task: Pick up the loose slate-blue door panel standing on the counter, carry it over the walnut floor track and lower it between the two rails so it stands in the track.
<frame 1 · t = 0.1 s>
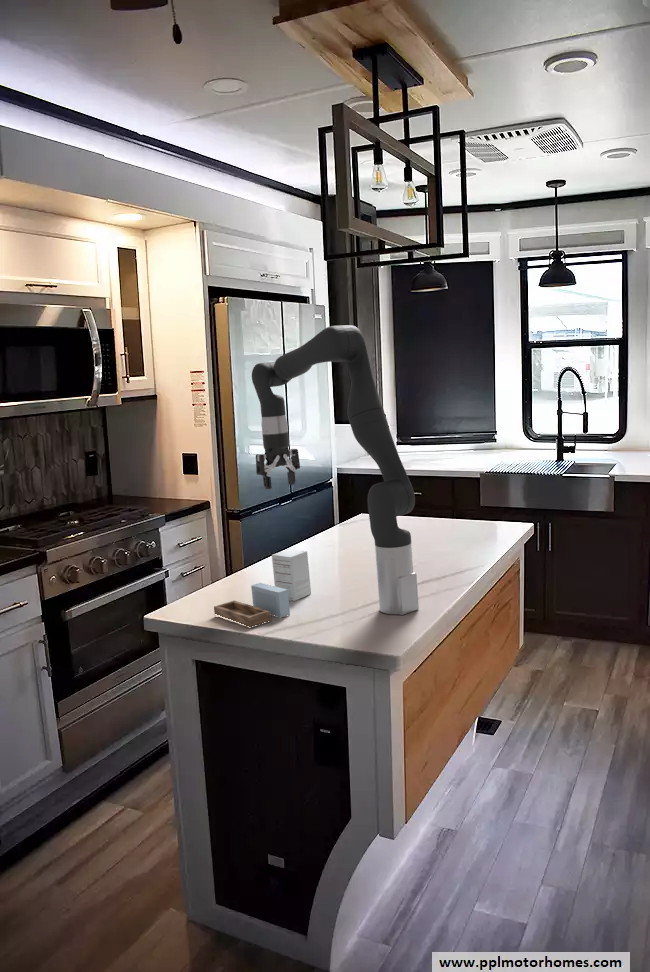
hand: (280, 486, 235), 29 cm above the countertop, tool pointing down, fingers open, 8 cm apart
supplement box: (293, 596, 225), on the countertop
door panel: (271, 613, 212), on the countertop
track: (242, 619, 208), on the countertop
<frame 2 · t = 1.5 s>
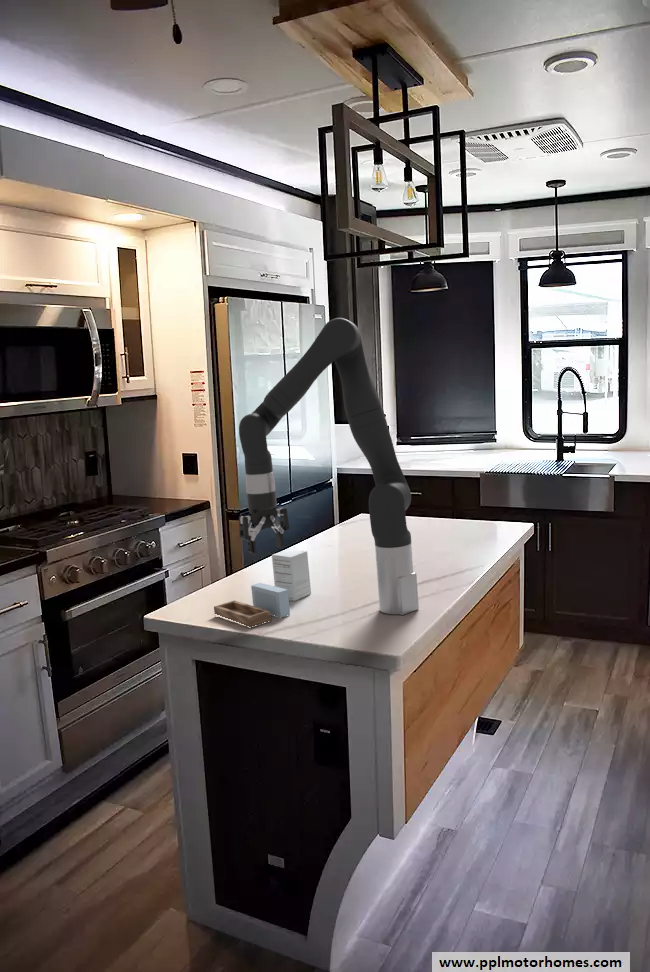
hand: (266, 550, 210), 16 cm above the countertop, tool pointing down, fingers open, 8 cm apart
nothing on the countertop moved.
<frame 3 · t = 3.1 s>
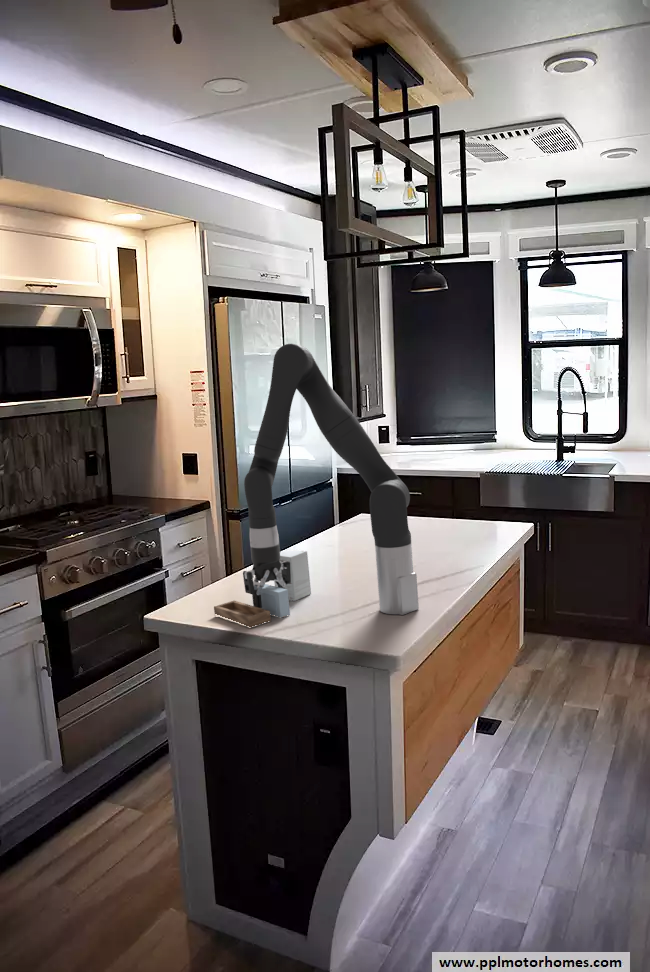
hand: (270, 604, 211), 2 cm above the countertop, tool pointing down, fingers open, 7 cm apart
nothing on the countertop moved.
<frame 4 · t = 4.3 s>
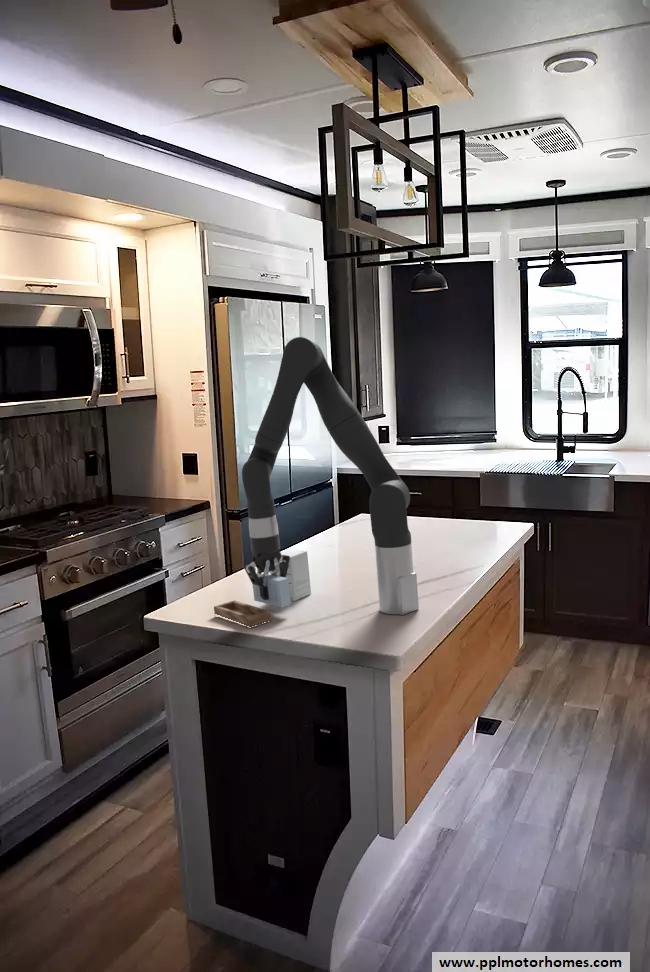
hand: (271, 597, 211), 4 cm above the countertop, tool pointing down, fingers closed on door panel, 3 cm apart
door panel: (272, 602, 211), point 3 cm above the countertop, touching gripper
everything else where it was.
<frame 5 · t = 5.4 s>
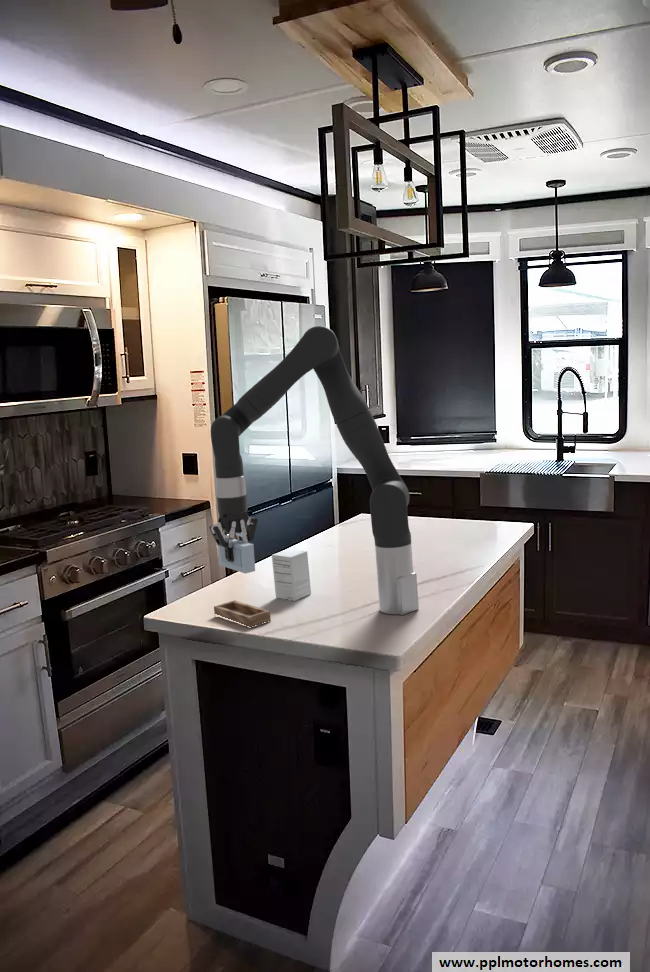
hand: (237, 559, 207), 16 cm above the countertop, tool pointing down, fingers closed on door panel, 3 cm apart
door panel: (237, 568, 207), point 13 cm above the countertop, touching gripper
everything else where it was.
when the fingers open (4 cm above the countertop, at t = 7.4 s): door panel stays where it is, resting on track.
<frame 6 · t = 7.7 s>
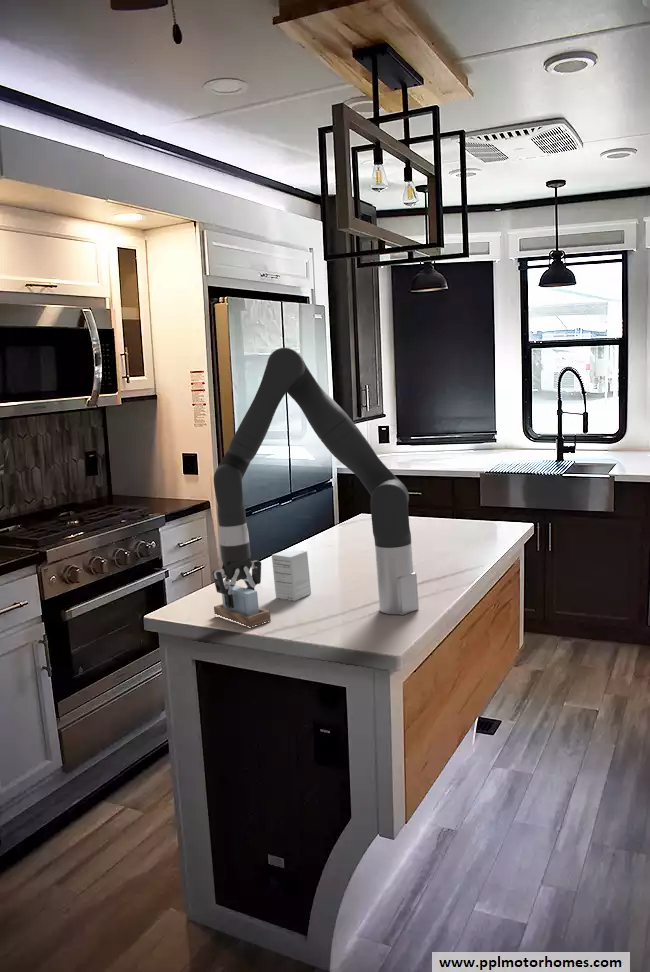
hand: (240, 604, 208), 4 cm above the countertop, tool pointing down, fingers open, 6 cm apart
door panel: (241, 614, 208), point 1 cm above the countertop, touching track
everything else where it was.
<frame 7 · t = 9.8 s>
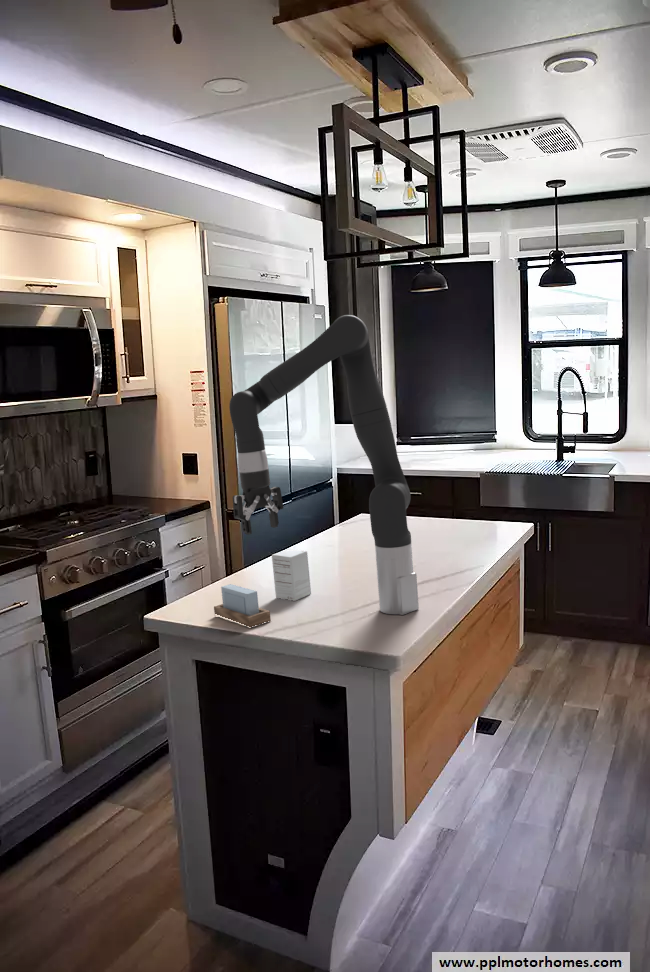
hand: (261, 530, 208), 22 cm above the countertop, tool pointing down, fingers open, 8 cm apart
nothing on the countertop moved.
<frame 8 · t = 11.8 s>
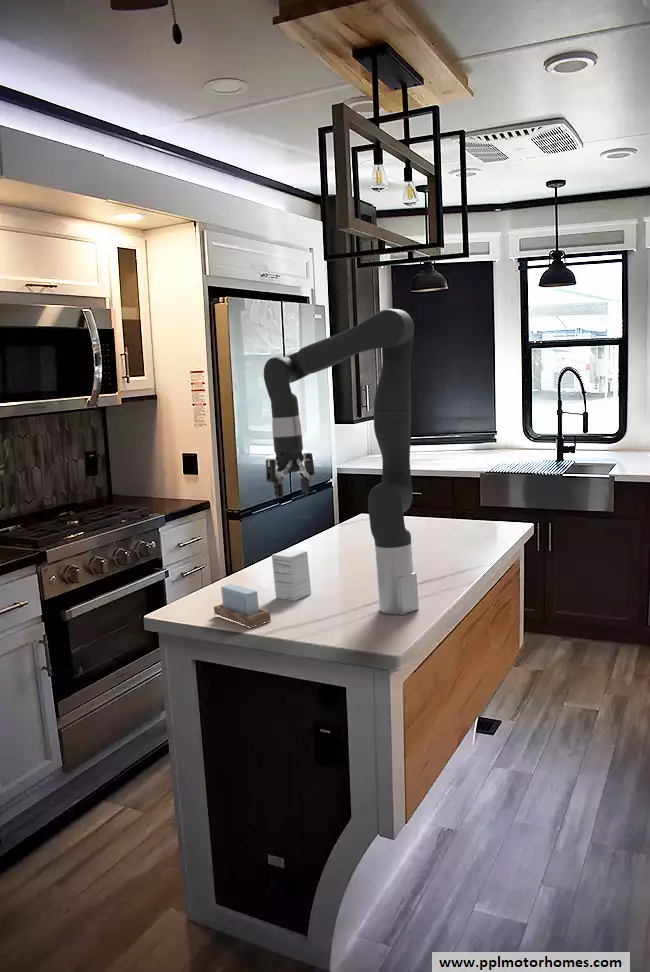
hand: (292, 495, 211), 30 cm above the countertop, tool pointing down, fingers open, 8 cm apart
nothing on the countertop moved.
at the end: door panel 0.5 cm off-centre on the track, point 1.0 cm above the track's base; door panel tilted 0°; the gripper is holding nothing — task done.
